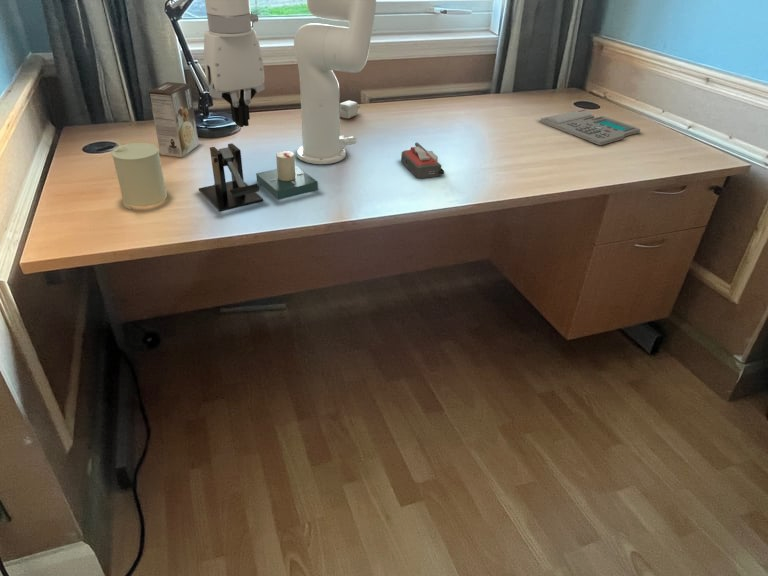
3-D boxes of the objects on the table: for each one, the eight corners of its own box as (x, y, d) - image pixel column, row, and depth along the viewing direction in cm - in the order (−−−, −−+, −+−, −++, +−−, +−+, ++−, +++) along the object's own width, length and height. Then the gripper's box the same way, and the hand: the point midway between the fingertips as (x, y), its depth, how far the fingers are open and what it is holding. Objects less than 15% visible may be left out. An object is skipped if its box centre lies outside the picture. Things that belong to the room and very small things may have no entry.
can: (129, 191, 130) (117, 140, 123) (172, 191, 131) (162, 140, 124) (117, 211, 122) (104, 156, 116) (162, 210, 123) (152, 157, 116)
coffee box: (177, 142, 155) (166, 80, 146) (199, 145, 154) (190, 83, 145) (159, 155, 148) (147, 91, 139) (183, 158, 147) (172, 93, 138)
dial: (274, 175, 133) (273, 151, 130) (290, 172, 135) (289, 148, 131) (282, 182, 130) (280, 157, 127) (298, 178, 132) (297, 154, 129)
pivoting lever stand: (263, 205, 127) (259, 153, 121) (219, 216, 122) (212, 163, 116) (241, 185, 135) (236, 135, 128) (199, 194, 130) (191, 143, 124)
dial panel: (295, 176, 140) (294, 164, 138) (318, 193, 133) (317, 181, 131) (257, 185, 135) (255, 172, 134) (278, 203, 128) (277, 190, 126)
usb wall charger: (338, 116, 178) (338, 103, 176) (352, 110, 183) (352, 98, 180) (349, 119, 176) (349, 105, 174) (362, 113, 181) (362, 100, 178)
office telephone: (540, 114, 179) (583, 104, 189) (539, 122, 181) (581, 112, 190) (602, 137, 164) (645, 125, 173) (600, 146, 165) (643, 134, 175)
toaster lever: (258, 193, 122) (259, 185, 120) (231, 199, 119) (232, 192, 117) (236, 153, 126) (237, 145, 124) (209, 158, 123) (209, 150, 121)
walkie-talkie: (451, 177, 143) (419, 148, 159) (453, 160, 141) (420, 132, 156) (418, 181, 141) (389, 151, 156) (420, 164, 138) (390, 135, 153)
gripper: (259, 15, 109) (268, 112, 120) (181, 23, 102) (197, 125, 113) (277, 23, 104) (284, 123, 115) (196, 32, 97) (212, 138, 108)
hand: (241, 124), depth 114 cm, fingers closed
